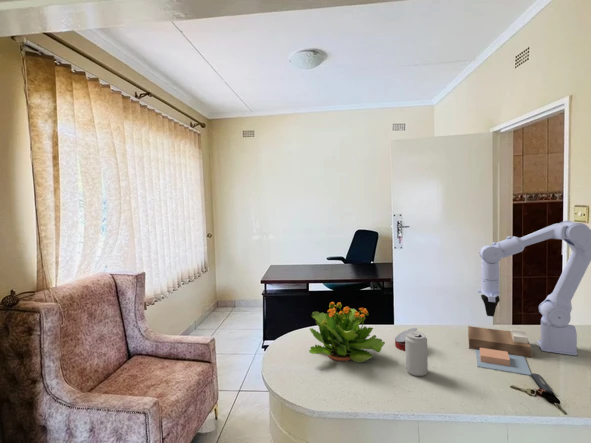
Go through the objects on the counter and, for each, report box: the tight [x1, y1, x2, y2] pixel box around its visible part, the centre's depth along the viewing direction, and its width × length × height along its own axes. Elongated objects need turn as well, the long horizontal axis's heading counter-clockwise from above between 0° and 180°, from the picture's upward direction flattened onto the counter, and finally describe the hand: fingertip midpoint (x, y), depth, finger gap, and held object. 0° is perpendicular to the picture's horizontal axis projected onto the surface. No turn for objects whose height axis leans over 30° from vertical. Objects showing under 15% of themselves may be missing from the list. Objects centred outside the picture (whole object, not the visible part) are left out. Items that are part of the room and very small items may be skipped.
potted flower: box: [308, 301, 386, 363], centre depth 115 cm, size 25×24×18 cm
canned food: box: [394, 327, 418, 352], centre depth 119 cm, size 10×9×9 cm
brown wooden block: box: [467, 325, 532, 358], centre depth 117 cm, size 18×12×4 cm, turn 64°
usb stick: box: [530, 372, 555, 394], centre depth 93 cm, size 10×3×2 cm, turn 163°
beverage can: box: [404, 330, 429, 377], centre depth 102 cm, size 6×6×12 cm
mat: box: [475, 349, 532, 377], centre depth 106 cm, size 14×12×1 cm
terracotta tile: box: [480, 348, 510, 366], centre depth 107 cm, size 8×6×2 cm
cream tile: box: [510, 328, 529, 344], centre depth 114 cm, size 4×7×2 cm, turn 154°
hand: (490, 315), depth 120 cm, fingers closed
